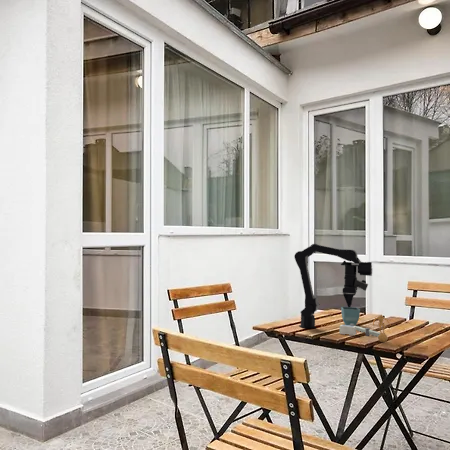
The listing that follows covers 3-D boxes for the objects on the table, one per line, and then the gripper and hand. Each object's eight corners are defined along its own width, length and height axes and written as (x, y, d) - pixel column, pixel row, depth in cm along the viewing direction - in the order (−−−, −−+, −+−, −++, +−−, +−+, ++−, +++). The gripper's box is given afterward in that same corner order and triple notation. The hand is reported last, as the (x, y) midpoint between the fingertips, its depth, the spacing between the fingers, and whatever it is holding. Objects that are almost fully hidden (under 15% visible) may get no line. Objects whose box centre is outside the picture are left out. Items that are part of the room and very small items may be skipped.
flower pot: (357, 323, 255) (357, 307, 256) (360, 326, 247) (360, 309, 247) (340, 323, 256) (341, 306, 256) (343, 326, 247) (343, 309, 248)
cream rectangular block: (356, 334, 226) (356, 325, 226) (353, 335, 223) (353, 327, 223) (342, 332, 230) (342, 324, 230) (339, 334, 226) (339, 325, 227)
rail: (371, 337, 219) (371, 330, 219) (344, 329, 238) (345, 322, 238) (382, 336, 222) (382, 329, 222) (354, 328, 240) (355, 322, 240)
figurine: (375, 343, 207) (375, 315, 207) (370, 340, 213) (370, 313, 213) (393, 343, 208) (394, 316, 208) (387, 340, 214) (388, 314, 214)
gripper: (366, 276, 222) (366, 309, 222) (367, 274, 240) (367, 304, 240) (342, 275, 226) (342, 308, 225) (345, 273, 244) (344, 303, 243)
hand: (349, 306), depth 233 cm, fingers open, 9 cm apart
